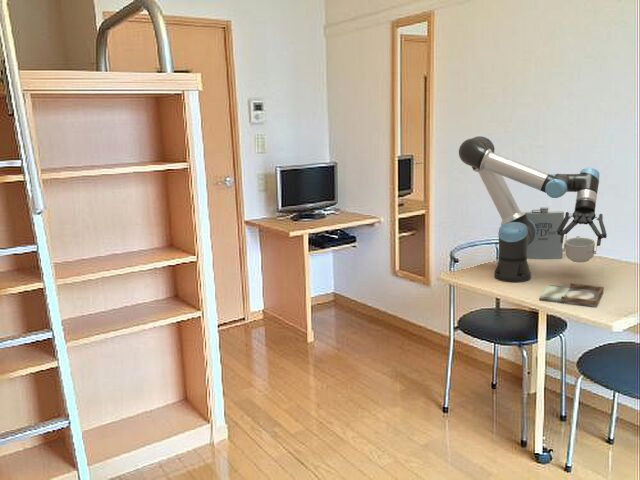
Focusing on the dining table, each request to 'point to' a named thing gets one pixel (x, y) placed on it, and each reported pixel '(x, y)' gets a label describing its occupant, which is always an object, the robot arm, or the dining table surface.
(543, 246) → the flask
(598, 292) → the board
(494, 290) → the dining table surface
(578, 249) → the teacup
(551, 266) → the dining table surface
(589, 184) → the robot arm
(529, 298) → the dining table surface
